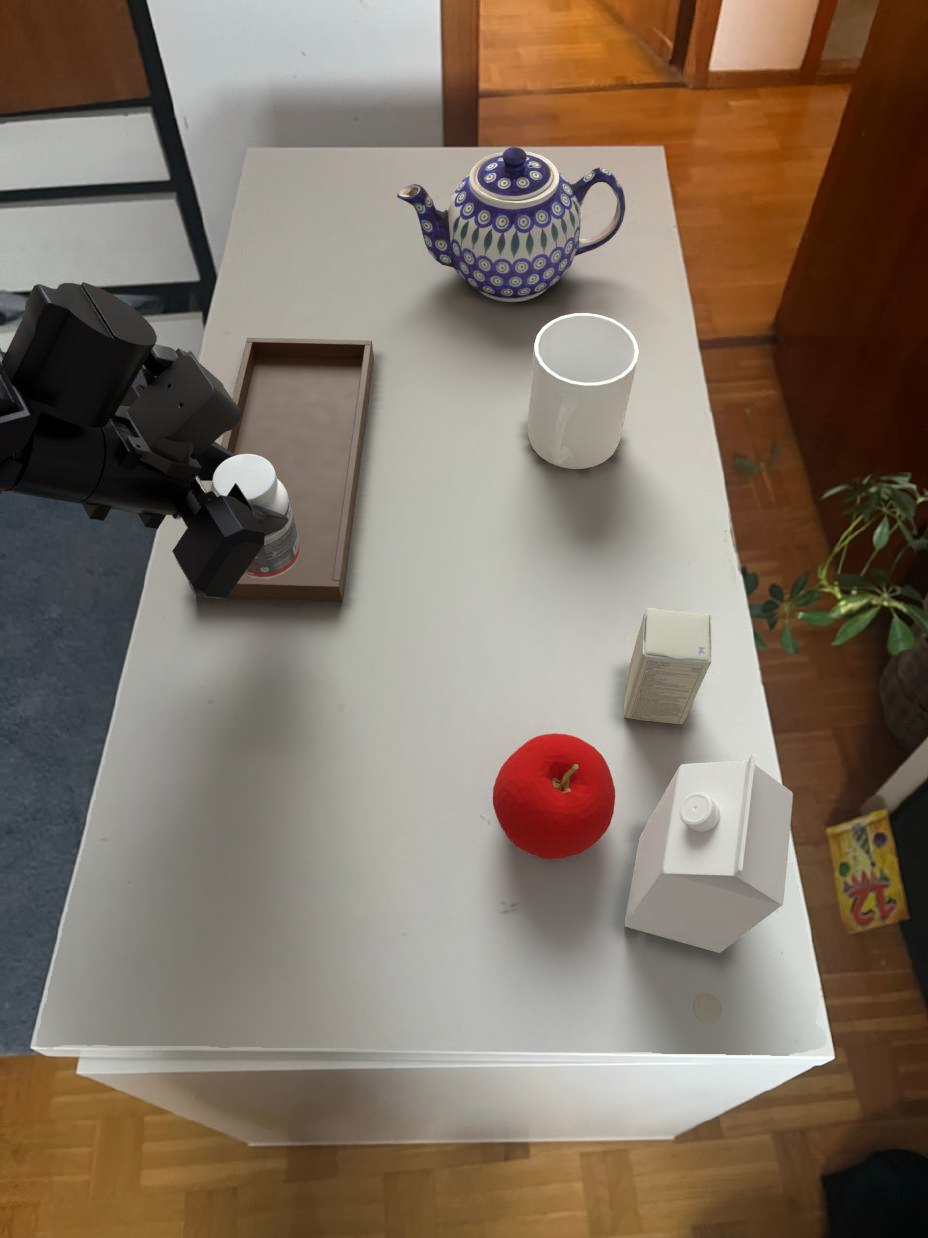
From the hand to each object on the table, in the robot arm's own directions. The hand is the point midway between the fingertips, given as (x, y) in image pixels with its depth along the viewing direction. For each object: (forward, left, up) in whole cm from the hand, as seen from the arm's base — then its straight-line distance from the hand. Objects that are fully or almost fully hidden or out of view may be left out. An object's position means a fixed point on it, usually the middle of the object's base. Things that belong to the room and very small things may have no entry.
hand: (268, 497), depth 69 cm
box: (+21, -25, -13) cm, 36 cm away
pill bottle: (-1, 0, -7) cm, 7 cm away
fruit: (+8, -29, -13) cm, 33 cm away
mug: (+31, +2, -13) cm, 34 cm away
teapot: (+40, +28, -13) cm, 50 cm away
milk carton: (+13, -39, -13) cm, 44 cm away
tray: (+6, +13, -13) cm, 20 cm away
